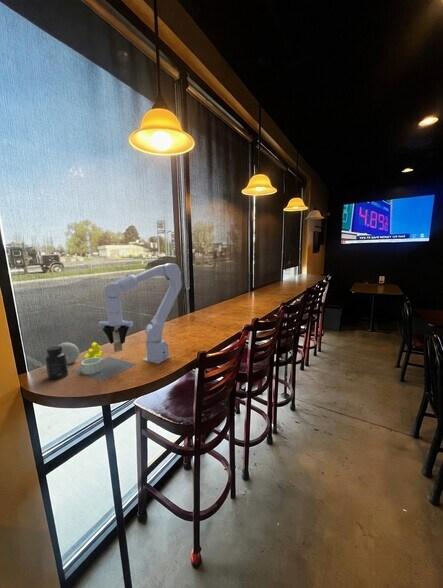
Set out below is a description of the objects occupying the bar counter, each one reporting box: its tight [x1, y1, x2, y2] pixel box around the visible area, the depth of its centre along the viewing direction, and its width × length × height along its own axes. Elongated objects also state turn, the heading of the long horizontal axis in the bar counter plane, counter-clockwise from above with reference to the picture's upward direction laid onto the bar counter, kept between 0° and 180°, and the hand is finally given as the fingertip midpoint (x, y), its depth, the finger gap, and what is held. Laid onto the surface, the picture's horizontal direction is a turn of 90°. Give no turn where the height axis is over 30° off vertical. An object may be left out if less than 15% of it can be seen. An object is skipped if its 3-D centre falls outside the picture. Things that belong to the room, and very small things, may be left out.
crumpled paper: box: [83, 341, 104, 360], centre depth 115 cm, size 6×8×8 cm
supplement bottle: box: [44, 345, 69, 381], centre depth 97 cm, size 7×7×12 cm
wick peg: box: [112, 329, 123, 353], centre depth 105 cm, size 3×3×9 cm
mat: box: [71, 356, 138, 382], centre depth 104 cm, size 19×17×1 cm
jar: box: [80, 357, 103, 375], centre depth 101 cm, size 8×8×4 cm
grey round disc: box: [57, 341, 80, 365], centre depth 109 cm, size 10×4×10 cm, turn 106°
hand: (117, 343), depth 106 cm, fingers closed on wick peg, 4 cm apart
